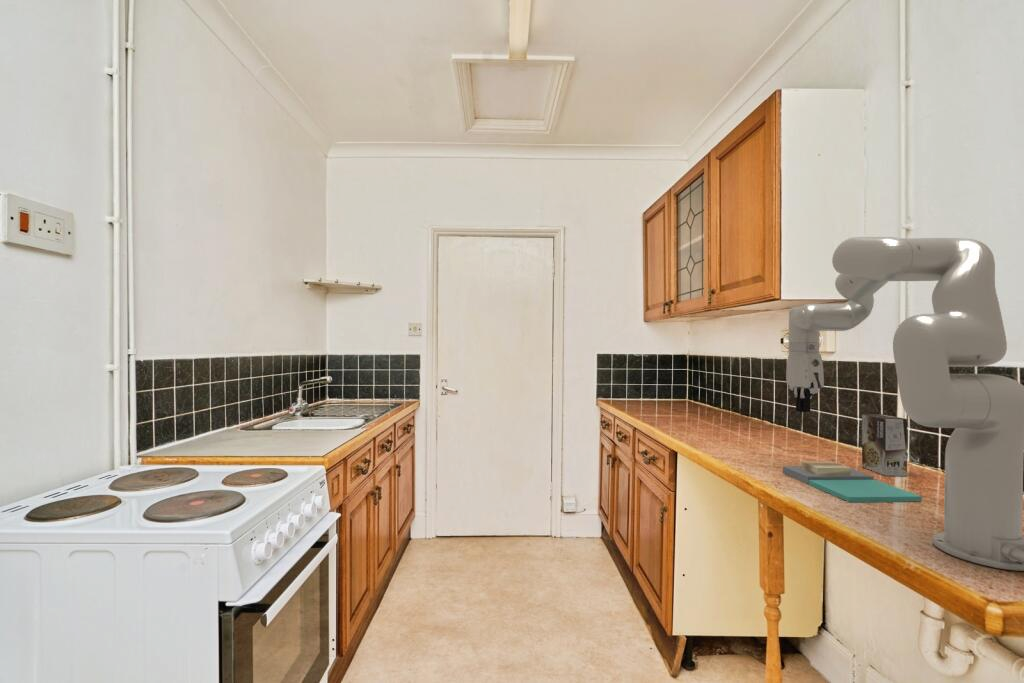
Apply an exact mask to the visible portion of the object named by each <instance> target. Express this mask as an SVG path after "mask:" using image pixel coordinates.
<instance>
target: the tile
mask: <svg viewBox="0 0 1024 683" xmlns="http://www.w3.org/2000/svg"><path fill="white" fill-rule="evenodd" d="M801 466H802V469H803V470H806V471H808V472H811V473H813V474H816V475H850V471H851V469H852V468H851V466H850V467H849V466H848V465H844V464H841V463H838V462H835V461H802V462H801Z"/></svg>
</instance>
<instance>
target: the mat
mask: <svg viewBox="0 0 1024 683" xmlns="http://www.w3.org/2000/svg"><path fill="white" fill-rule="evenodd" d="M808 486H811V487H814V488H815V487H816V489H818V490H820V491H822V492H824V491H825V492H824V493H826V492H827V493H826V494H829V493H830V494H829V495H831V494H832V496H833V495H834V496H833V497H835V496H837V497H836V498H838V497H839V498H838V499H840V498H841V500H842V499H844V500H846V501H845V502H847V501H848V502H847V503H895V502H896V503H899V502H900V503H903V501H904V503H906V502H905V501H923V497H922V495H919V494H916V493H914V492H911V491H908V490H905V489H902V488H899V487H897V486H894V485H891V484H888V483H885V482H882V481H879V480H877V479H873V480H809V484H808ZM844 500H843V501H844Z"/></svg>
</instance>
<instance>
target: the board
mask: <svg viewBox="0 0 1024 683" xmlns="http://www.w3.org/2000/svg"><path fill="white" fill-rule="evenodd" d="M782 474H784V475H786V476H789V477H790V476H791V477H790V478H793V479H794V480H797V481H799V480H800V482H802V483H804V484H806V485H809V480H874V476H873V475H871V474H869V473H865V472H863V471H859V470H857V469H854V468H851V471H850V475H816V474H813V473H811V472H808V471H806V470H803V469H802V465H783V466H782Z"/></svg>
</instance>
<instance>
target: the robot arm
mask: <svg viewBox="0 0 1024 683" xmlns="http://www.w3.org/2000/svg"><path fill="white" fill-rule="evenodd" d="M831 260H832V267H833V269H834V270H835V271H836V272H837V273H838V276H836V278H835V282H834V286H835V288H836V291H837V292H838V294H839V295H840V296H842V297H843V298H844V299H846V300H848V301H845V303H825V302H824V303H806V304H803V305H802V306H800V305H799V306H793V307H791V308H790V309H789V312H788V355H787V360H786V368H785V369H786V370H785V380H786V384H787V385H788V389H789V390H791V391H793V394H794V398H795V410H796V412H798V413H810V412H811V399H812V398H813V395H814V394H818V393H819V389H822V388H824V385H825V380H824V379H825V378H824V365H823V359H822V358H823V357H822V355H821V353H820V332H824V331H825V332H846V331H850V330H852V329H854V328H856V327H857V326H859V325H860V324H861V323H862V322H864V321H865V320H866V319H868V317H869V316H870V315H871V314H872V311H873V308H874V305H875V298H874V295H875V294H876V293H877V292H878V291H879V290H880V289H882V288H883V287H884V286H885V285H886V284H887V283H888V282H934V281H935V282H936V281H937V283H936V284H935V287H934V289H933V291H932V294H931V303H932V308H933V313H923V314H915V315H912V316H909V317H908V318H905V319H904V320H903V321H902V322H901V323H900V324H899V325H898V326H897V328H896V330H895V332H894V336H893V340H892V351H893V359H894V365H895V372H896V378H897V384H898V391H899V396H900V401H901V405H902V408H903V410H904V412H905V414H906V415H907V416H908V419H910V420H911V421H913V422H915V423H916V424H917V425H920V426H923V427H928V428H938V429H954V430H953V432H952V433H951V434H950V436H949V438H948V440H947V442H946V446H945V451H944V514H943V515H944V516H943V517H944V518H943V519H944V520H943V521H944V522H943V524H944V527H943V528H944V529H943V530H944V531H943V532H936V533H935V534H933V535H932V543H933V545H934V546H935V547H936V548H938V549H939V550H941V551H943V552H945V553H947V554H948V555H951V556H954V557H956V558H958V559H960V560H964V561H967V562H970V563H974V564H977V565H982V566H986V567H990V568H995V569H1001V570H1007V571H1018V572H1020V571H1021V572H1024V537H1023V524H1024V522H1023V521H1024V520H1023V519H1024V518H1023V517H1024V515H1023V514H1024V513H1023V512H1024V506H1023V505H1024V501H1023V500H1024V498H1023V497H1024V384H1022V383H1021V382H1019V381H1018V380H1015V379H1013V378H1011V377H1007V376H1004V375H999V374H993V373H992V374H991V373H950V367H960V368H962V367H967V368H969V367H971V368H972V367H984V366H991V365H995V364H996V363H998V362H1000V361H1001V360H1003V359H1004V357H1005V355H1006V354H1007V349H1008V348H1007V346H1008V344H1007V343H1008V342H1007V336H1006V331H1005V326H1004V321H1003V316H1002V312H1001V307H1000V302H999V298H998V295H997V291H996V290H997V289H996V288H997V287H996V263H995V257H994V253H993V251H992V250H991V248H989V246H988V245H987V244H985V243H984V242H982V241H981V240H977V239H972V238H965V237H964V238H963V237H962V238H961V237H920V238H917V237H916V238H915V237H913V238H910V237H909V238H903V237H902V238H898V237H893V236H891V237H890V236H855V237H854V236H853V237H849V238H847V239H845V240H844V241H842V242H841V243H840V244H838V246H837V247H836V248H835V250H834V252H833V255H832V259H831Z"/></svg>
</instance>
